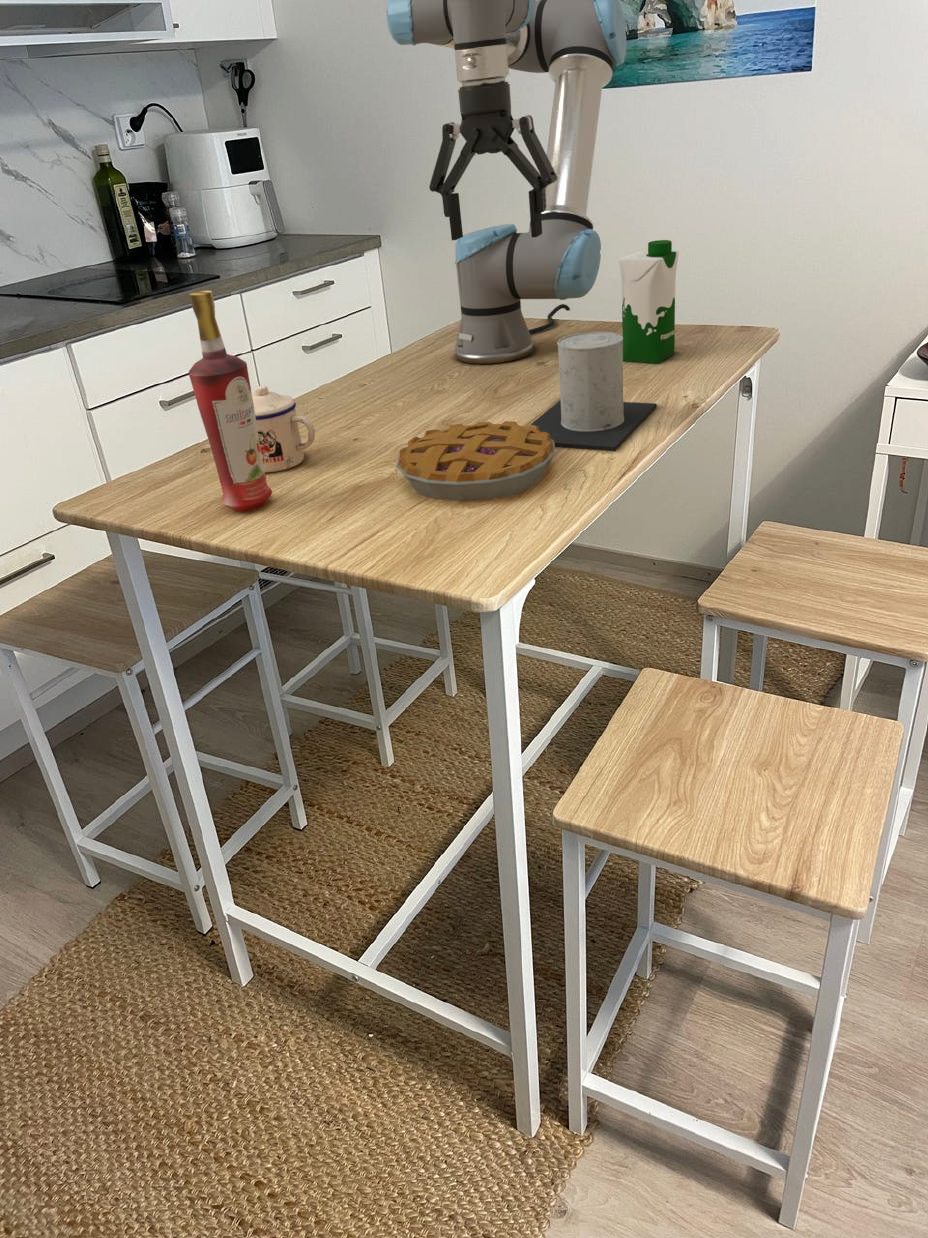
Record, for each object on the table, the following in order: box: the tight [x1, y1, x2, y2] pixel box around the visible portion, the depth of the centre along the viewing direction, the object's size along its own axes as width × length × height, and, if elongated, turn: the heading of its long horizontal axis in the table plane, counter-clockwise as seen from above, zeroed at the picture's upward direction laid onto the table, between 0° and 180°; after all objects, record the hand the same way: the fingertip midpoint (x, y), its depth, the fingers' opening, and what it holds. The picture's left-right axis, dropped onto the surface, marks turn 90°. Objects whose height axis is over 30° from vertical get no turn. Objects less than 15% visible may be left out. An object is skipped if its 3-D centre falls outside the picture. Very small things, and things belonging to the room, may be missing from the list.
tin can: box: [556, 331, 624, 432], centre depth 140 cm, size 10×10×12 cm
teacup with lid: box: [252, 385, 316, 473], centre depth 139 cm, size 12×9×12 cm
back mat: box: [529, 399, 658, 452], centre depth 144 cm, size 20×16×1 cm
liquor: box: [188, 290, 273, 513], centre depth 122 cm, size 7×7×28 cm
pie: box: [395, 420, 556, 502], centre depth 129 cm, size 22×22×5 cm
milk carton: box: [618, 239, 679, 364], centre depth 168 cm, size 9×9×20 cm
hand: (496, 237), depth 148 cm, fingers open, 13 cm apart
